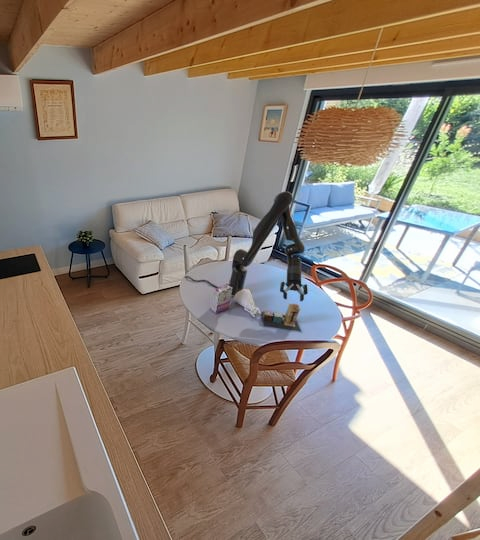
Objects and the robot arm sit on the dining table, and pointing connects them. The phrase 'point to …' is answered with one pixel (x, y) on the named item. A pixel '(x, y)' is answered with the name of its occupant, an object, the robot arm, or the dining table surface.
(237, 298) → the rocket engine
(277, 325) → the word mat
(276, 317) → the letter block
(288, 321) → the tan rectangular block
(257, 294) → the dining table surface
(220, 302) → the candy bar box
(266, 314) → the letter block
